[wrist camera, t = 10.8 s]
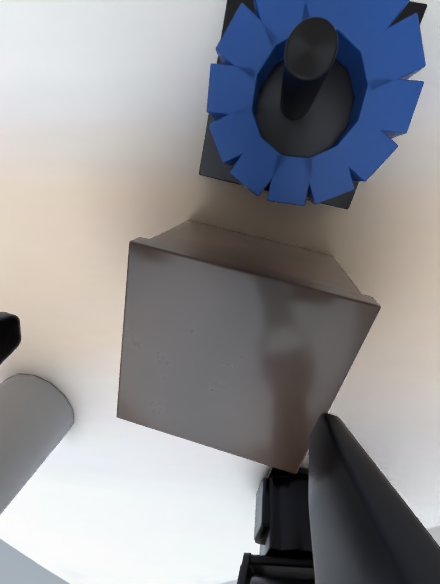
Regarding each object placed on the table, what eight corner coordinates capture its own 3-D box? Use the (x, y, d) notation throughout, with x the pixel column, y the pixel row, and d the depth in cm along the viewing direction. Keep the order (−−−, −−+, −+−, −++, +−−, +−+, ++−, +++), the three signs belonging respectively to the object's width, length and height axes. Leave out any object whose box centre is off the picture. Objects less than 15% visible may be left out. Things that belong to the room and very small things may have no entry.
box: (337, 253, 18) (382, 306, 11) (288, 375, 22) (296, 475, 15) (186, 216, 19) (128, 240, 11) (166, 340, 23) (115, 417, 16)
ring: (434, -4, 12) (466, -41, 10) (365, 211, 16) (378, 216, 14) (228, -15, 13) (220, -50, 11) (208, 189, 17) (199, 191, 15)
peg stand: (415, 17, 13) (574, -163, 6) (343, 207, 17) (392, 228, 10) (234, -13, 14) (196, -205, 7) (203, 175, 18) (156, 172, 11)
